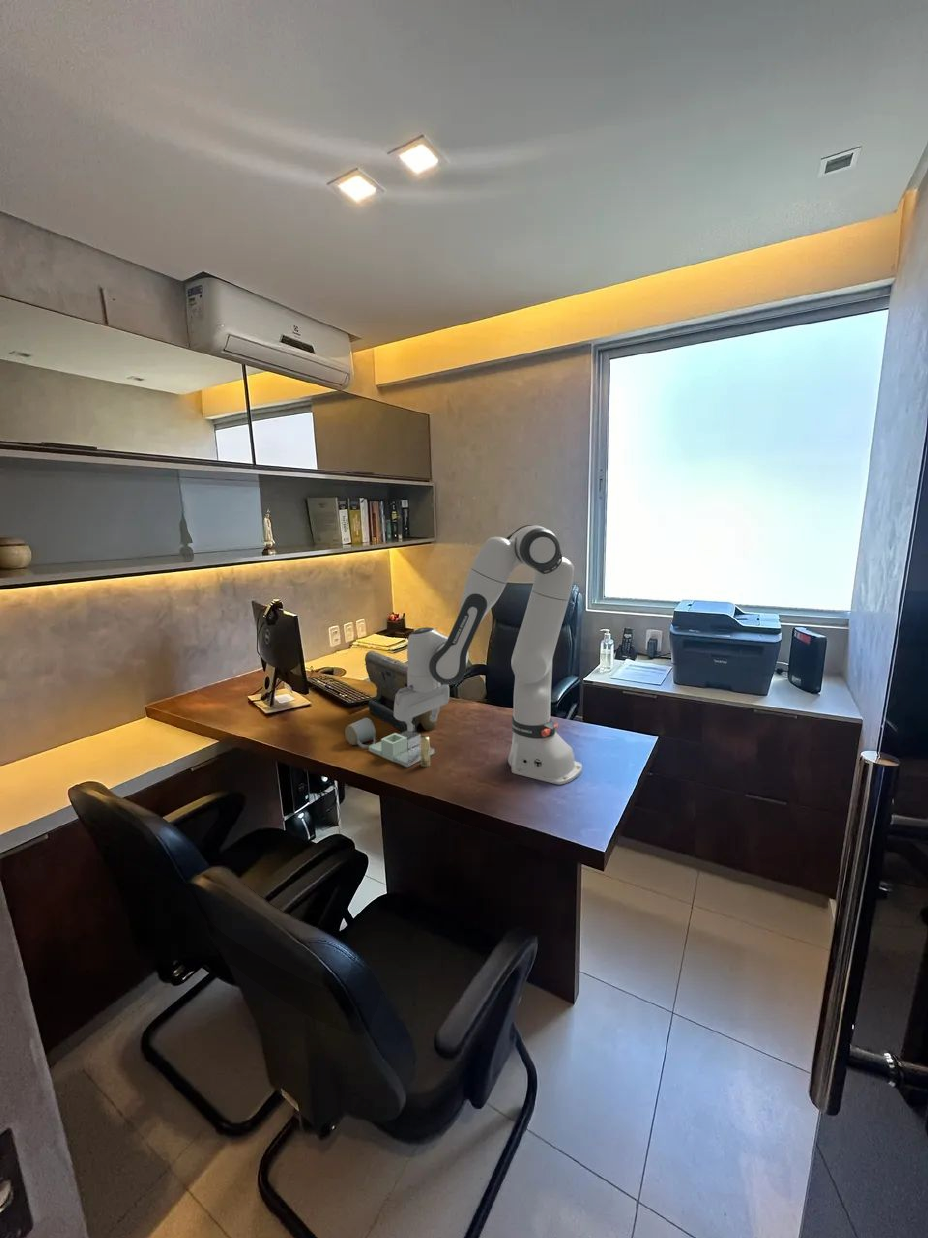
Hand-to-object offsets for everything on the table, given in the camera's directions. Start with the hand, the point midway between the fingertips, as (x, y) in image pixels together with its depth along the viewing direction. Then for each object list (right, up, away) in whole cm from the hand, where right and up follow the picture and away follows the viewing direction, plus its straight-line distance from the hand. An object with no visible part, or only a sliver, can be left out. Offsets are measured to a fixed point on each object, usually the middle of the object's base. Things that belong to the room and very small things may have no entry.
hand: (422, 725), depth 147 cm
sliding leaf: (-5, -11, +9) cm, 15 cm away
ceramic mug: (-22, -10, +18) cm, 30 cm away
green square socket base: (-10, -11, +13) cm, 20 cm away
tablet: (-11, -6, +37) cm, 40 cm away
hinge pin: (+1, -13, +2) cm, 13 cm away
